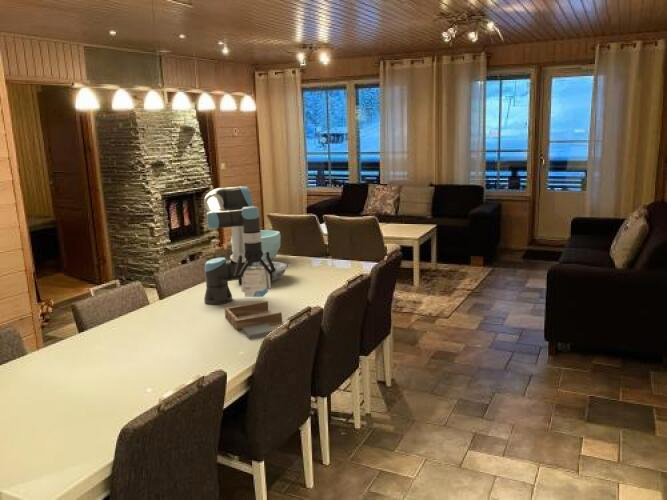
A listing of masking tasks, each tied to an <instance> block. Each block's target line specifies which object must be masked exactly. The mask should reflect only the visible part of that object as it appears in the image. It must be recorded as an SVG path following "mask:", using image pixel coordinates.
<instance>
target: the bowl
mask: <svg viewBox="0 0 667 500" xmlns="http://www.w3.org/2000/svg"><path fill="white" fill-rule="evenodd" d="M260 232H261V241H260V242H261V245H262V252H265V251H268V252H269V257H270V259H271V261H272V260H273V258H275V257H277V255H278V253H279V252H278V251H279V249H280V248H281V238H282V236H281V232H280V231H279V230H269V229H268V230H267V229H260ZM230 244H232V236H231V238H230ZM231 251H232V252H233V249H232V248H231ZM261 259H262V260H263V261H267V259H266V257H265V256H264V255H263V256H262V258H261Z"/></svg>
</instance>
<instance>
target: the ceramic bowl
mask: <svg viewBox="0 0 667 500" xmlns="http://www.w3.org/2000/svg"><path fill="white" fill-rule="evenodd" d="M271 261H272V260H271ZM263 262H264V263H265V264H266V265H267V266H268V268H269V269H270V270H271V268H270V265H269V263H268V261H263ZM272 263H273V265H274V267H275V270H276V271H275V272H273V273H272V280H270V282H273V281H276V280H277V279H280V278H281V277H282V276H283V275H284V274H285V272H286V270H288V269H289V268H290V264H289V263H286V262H283V261H275V260H274V261H272ZM255 266H261V267H263V266H262V264H261V263H260V262H257V263H256V262H255ZM266 272H267V270H266ZM267 273H268V272H267Z"/></svg>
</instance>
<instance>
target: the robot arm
mask: <svg viewBox="0 0 667 500" xmlns="http://www.w3.org/2000/svg"><path fill="white" fill-rule="evenodd" d="M251 193H252V192H251V190H250V188H249V187H248V186H246V185H245V186H241V185H240V186H229V187H227V186H226V187H218V188H214V189H212V190H211V191H209V192H208V193H207V194H206V195H205V197H204V199H203V205H204V208H205V210H206V211H207V212H206V216H205V217H206V225H207V228H208V229H223V228H231V237H232V243H231V250H232V249H233V251H232V254H230V256H229V259H227V258H226V257H216V258H215V257H214V258H212V259H209V260H207V261H206V262H205V264H204V274H205V275H204V276H205V284H206V287H205V288H206V289H205V294H204V298H203V300H204V301H203V302H204V303H205V304H207V305H222V304H226V303H230V302H232V300H233V295H232V292H231V290H230V287H229V283H228V282H233V281H237V282H238V285H239V286H240V289H241V290H240V292H242V293H245V290H244V278H243V274H244V271H245V270H246V269H247V267H248V266H255V262H256V263H257V262H260V263H261V264H262V266H263V267H264V268H265V269H266V270H267V272H268V273H267V284H268V289H271V288H272V287H271V281H270V280H272V273H273V272H275V271H276V270H275V267H274V265H273V263H272V260H271V259H270V257H269V252H268V251H265V252H262V245H261V242H260V241H261V232H260V230H261V221H260V220H261V219H260V215H261V213H260V209H259V207H258V206H255V205H254V203H253V198H252V194H251ZM263 255H264V256H265V257H266V259H267V261H268V263H269V265H270V268H271V270H270V269H269V268H268V266H267V265H266V264H265V263H264V262H263V260H262V259H261V258H262V256H263Z"/></svg>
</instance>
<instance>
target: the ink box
mask: <svg viewBox="0 0 667 500" xmlns="http://www.w3.org/2000/svg"><path fill="white" fill-rule="evenodd" d="M243 278H244V290H245V292H244V297H245V298H248V297H249V298H252V297H253V298H255V297H256V298H257V297H259V298H260V297H262V298H263V297H264V296H265V295H267V294H268V292H269V288H268V284H267V272H266V269H265V268H264V267H261V266H248V267H247V269H246V270H245V271H244V274H243Z"/></svg>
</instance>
